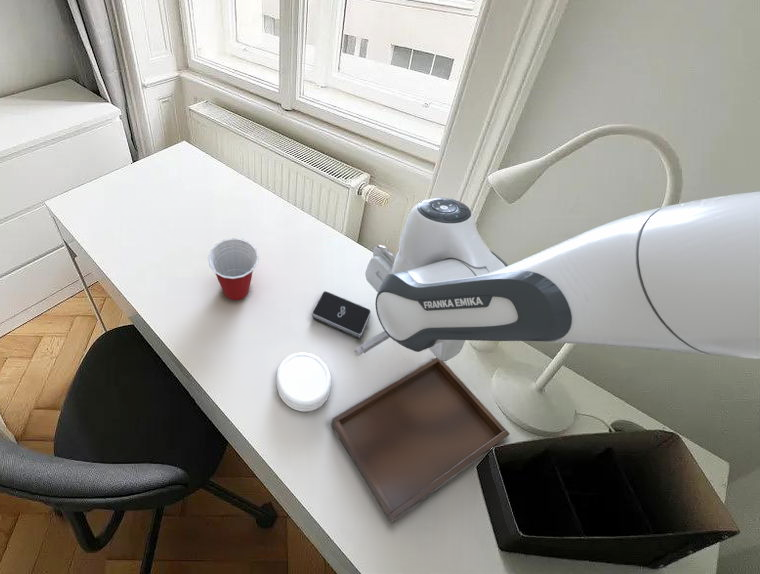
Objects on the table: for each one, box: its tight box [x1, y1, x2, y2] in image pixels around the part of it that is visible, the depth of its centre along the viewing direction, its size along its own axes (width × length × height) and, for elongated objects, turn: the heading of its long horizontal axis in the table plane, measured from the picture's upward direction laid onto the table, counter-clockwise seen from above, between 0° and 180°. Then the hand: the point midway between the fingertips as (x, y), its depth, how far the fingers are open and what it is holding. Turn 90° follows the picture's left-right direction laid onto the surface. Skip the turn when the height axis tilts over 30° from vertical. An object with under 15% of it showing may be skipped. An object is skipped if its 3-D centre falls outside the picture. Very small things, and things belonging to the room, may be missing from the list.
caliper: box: [354, 330, 390, 356], centre depth 74 cm, size 20×1×6 cm, turn 117°
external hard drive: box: [311, 290, 372, 339], centre depth 88 cm, size 7×11×2 cm, turn 60°
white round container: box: [276, 352, 332, 413], centre depth 76 cm, size 10×10×4 cm
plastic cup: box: [207, 237, 260, 301], centre depth 90 cm, size 11×11×12 cm
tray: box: [330, 357, 510, 524], centre depth 69 cm, size 16×25×2 cm, turn 117°
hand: (401, 328), depth 75 cm, fingers closed on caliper, 1 cm apart
